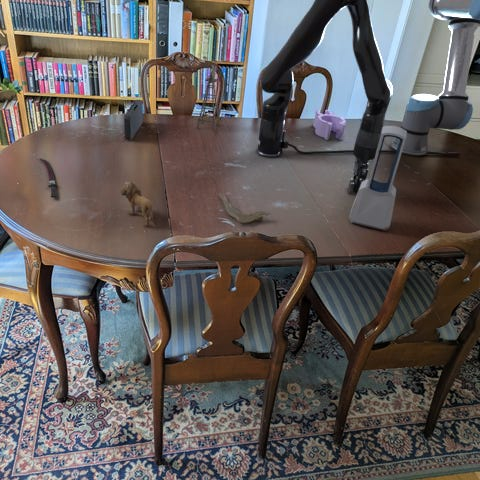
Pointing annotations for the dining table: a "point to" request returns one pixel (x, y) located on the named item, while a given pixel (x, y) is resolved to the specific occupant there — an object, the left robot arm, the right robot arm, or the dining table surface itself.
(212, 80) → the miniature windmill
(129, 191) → the lion figurine
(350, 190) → the block
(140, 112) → the handheld gaming console
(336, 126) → the clip
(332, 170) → the dining table surface
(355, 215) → the electronic device
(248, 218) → the jawbone
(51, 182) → the sword
